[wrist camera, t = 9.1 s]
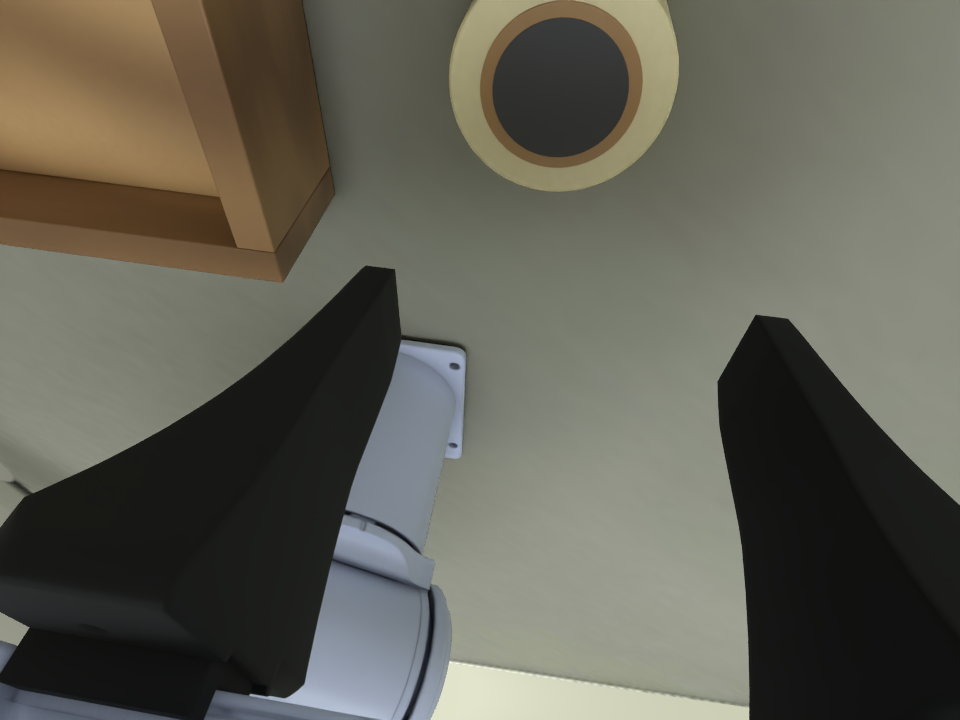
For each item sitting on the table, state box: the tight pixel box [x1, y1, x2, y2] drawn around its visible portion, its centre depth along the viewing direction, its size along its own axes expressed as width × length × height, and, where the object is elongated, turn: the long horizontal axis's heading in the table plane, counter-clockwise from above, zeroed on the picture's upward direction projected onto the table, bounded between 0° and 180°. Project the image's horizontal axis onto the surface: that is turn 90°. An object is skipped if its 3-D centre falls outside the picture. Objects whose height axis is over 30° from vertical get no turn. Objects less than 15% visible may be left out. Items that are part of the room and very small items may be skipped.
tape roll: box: [449, 0, 679, 192], centre depth 14 cm, size 5×5×4 cm
